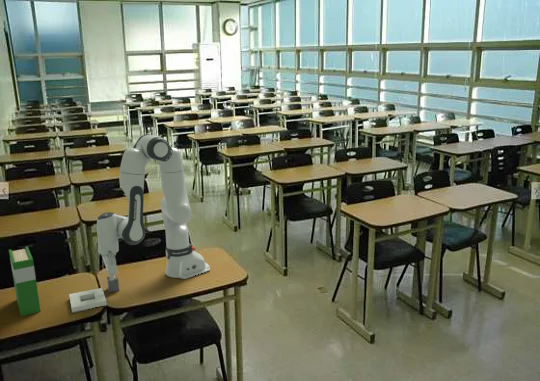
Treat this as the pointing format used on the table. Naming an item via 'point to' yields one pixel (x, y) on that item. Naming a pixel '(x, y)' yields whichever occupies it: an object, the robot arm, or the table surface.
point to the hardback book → (24, 281)
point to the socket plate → (87, 300)
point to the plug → (113, 284)
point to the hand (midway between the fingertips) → (110, 276)
